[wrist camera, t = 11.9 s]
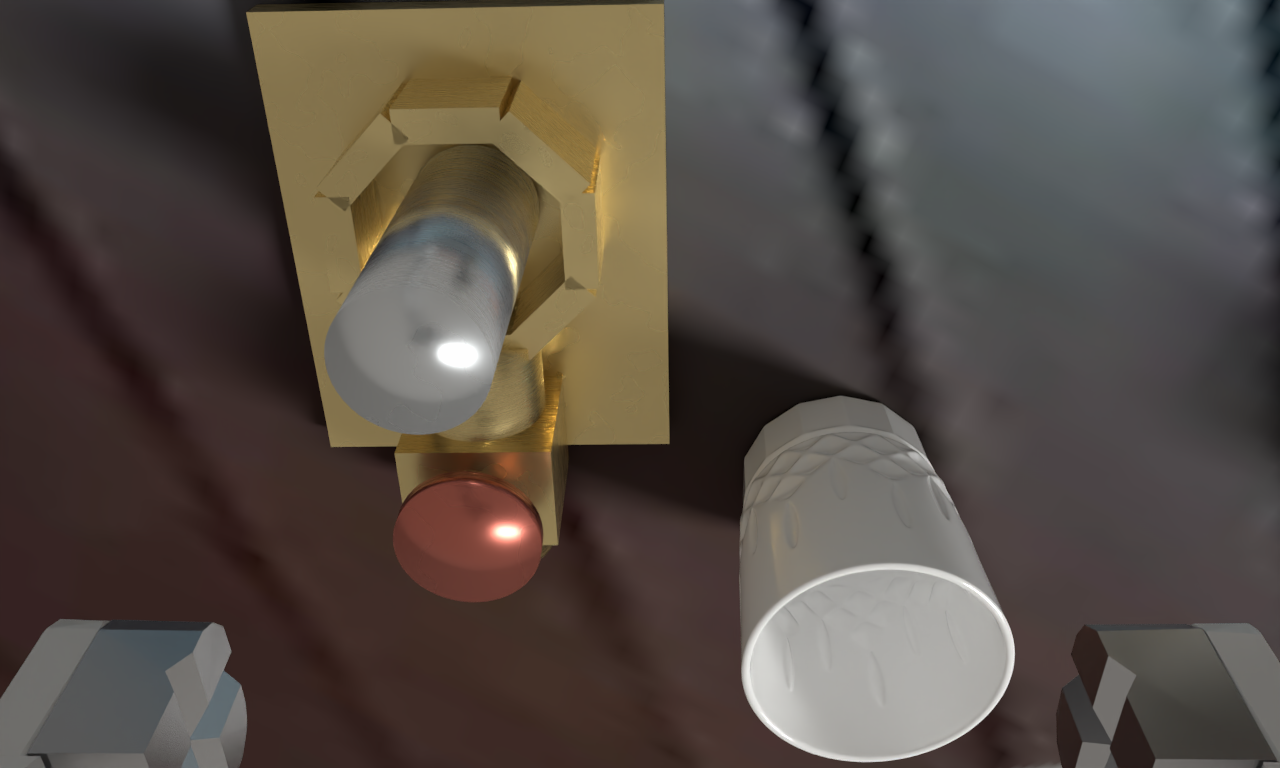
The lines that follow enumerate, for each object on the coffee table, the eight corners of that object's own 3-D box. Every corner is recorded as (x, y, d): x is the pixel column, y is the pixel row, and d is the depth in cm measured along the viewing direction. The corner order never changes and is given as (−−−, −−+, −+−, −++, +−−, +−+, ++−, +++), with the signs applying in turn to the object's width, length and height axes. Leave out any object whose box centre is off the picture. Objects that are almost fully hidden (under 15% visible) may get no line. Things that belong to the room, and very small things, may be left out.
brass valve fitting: (256, 4, 33) (153, 78, 27) (663, -4, 33) (663, 68, 26) (348, 487, 42) (288, 634, 36) (670, 485, 42) (670, 633, 35)
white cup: (863, 338, 39) (920, 517, 30) (983, 486, 42) (1065, 686, 33) (682, 458, 41) (687, 653, 33) (807, 588, 44) (841, 798, 36)
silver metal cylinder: (403, 145, 34) (310, 288, 26) (534, 143, 34) (484, 286, 26) (420, 265, 37) (339, 435, 28) (544, 263, 36) (500, 434, 28)
